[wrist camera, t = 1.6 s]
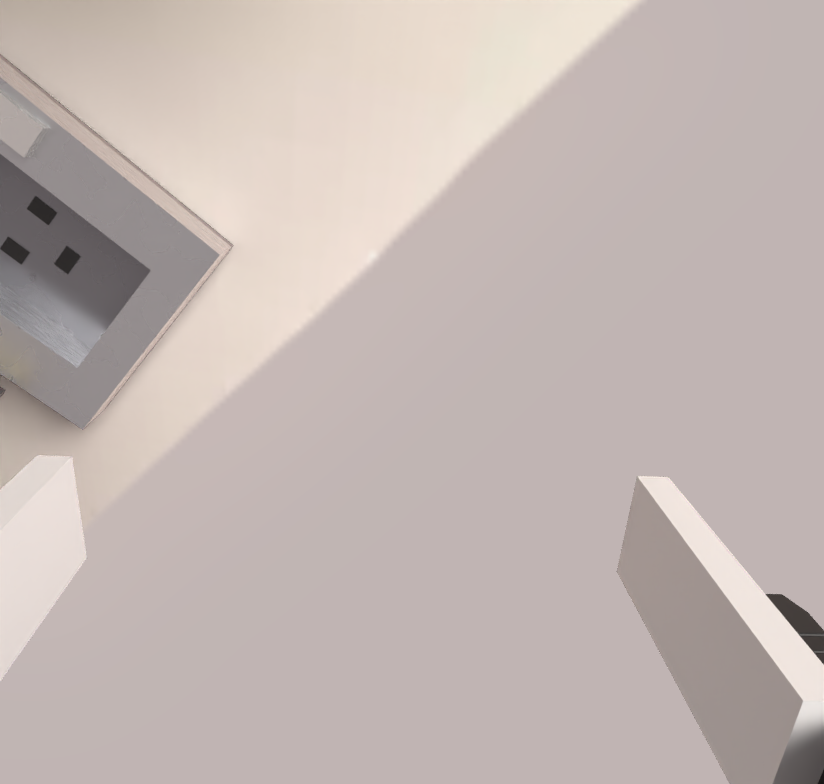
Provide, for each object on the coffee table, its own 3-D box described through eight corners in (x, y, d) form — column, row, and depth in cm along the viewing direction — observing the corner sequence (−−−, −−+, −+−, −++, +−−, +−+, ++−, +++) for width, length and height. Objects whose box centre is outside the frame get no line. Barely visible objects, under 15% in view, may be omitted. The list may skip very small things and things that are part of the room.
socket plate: (-136, 240, 33) (-195, 251, 30) (-16, 41, 30) (-67, 28, 27) (105, 407, 37) (77, 434, 33) (233, 245, 34) (216, 256, 30)
